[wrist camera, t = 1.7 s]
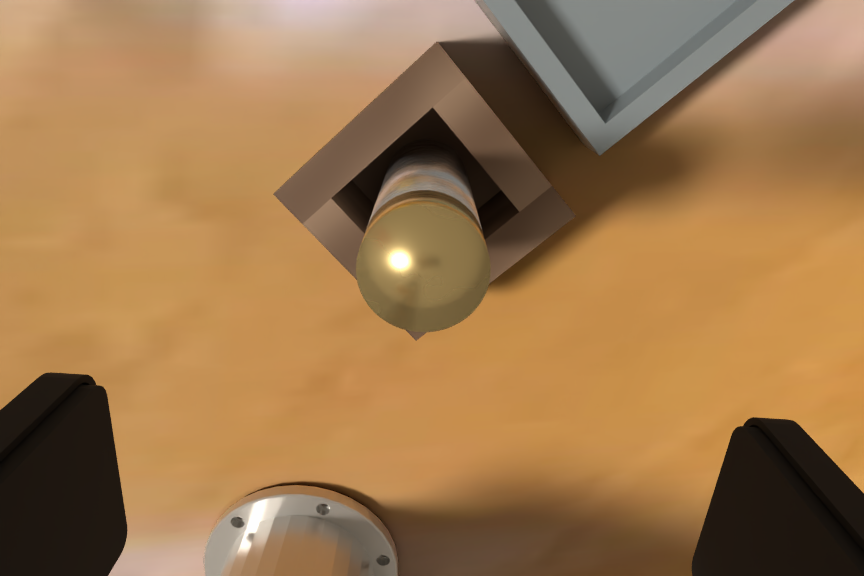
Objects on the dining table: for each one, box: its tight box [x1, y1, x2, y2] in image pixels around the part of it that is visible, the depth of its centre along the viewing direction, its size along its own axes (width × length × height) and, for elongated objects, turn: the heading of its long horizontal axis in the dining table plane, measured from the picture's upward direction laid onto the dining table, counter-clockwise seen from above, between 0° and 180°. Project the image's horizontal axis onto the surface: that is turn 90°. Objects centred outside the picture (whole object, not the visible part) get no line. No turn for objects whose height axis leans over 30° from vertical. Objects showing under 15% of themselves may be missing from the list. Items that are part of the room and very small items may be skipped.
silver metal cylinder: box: [356, 139, 491, 332], centre depth 24 cm, size 4×4×13 cm
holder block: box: [274, 42, 576, 340], centre depth 28 cm, size 9×9×6 cm
